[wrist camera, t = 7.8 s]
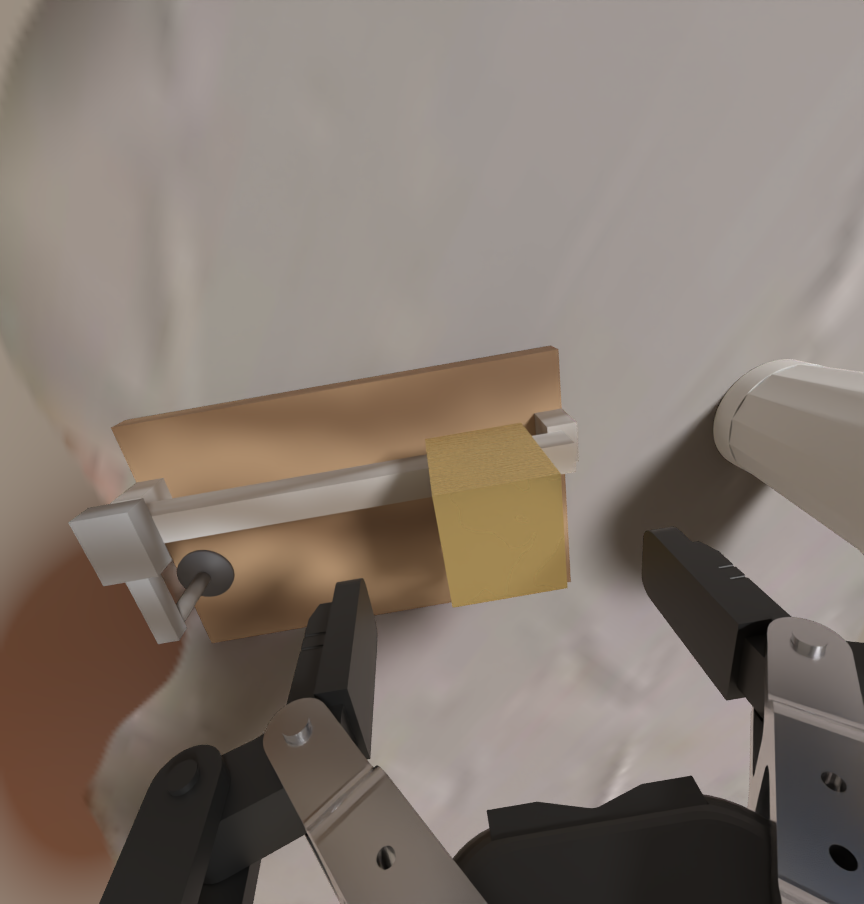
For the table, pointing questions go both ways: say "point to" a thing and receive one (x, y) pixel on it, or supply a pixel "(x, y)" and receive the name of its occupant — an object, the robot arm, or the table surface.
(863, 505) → the cup
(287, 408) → the board
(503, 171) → the table surface
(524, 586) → the sliding block
